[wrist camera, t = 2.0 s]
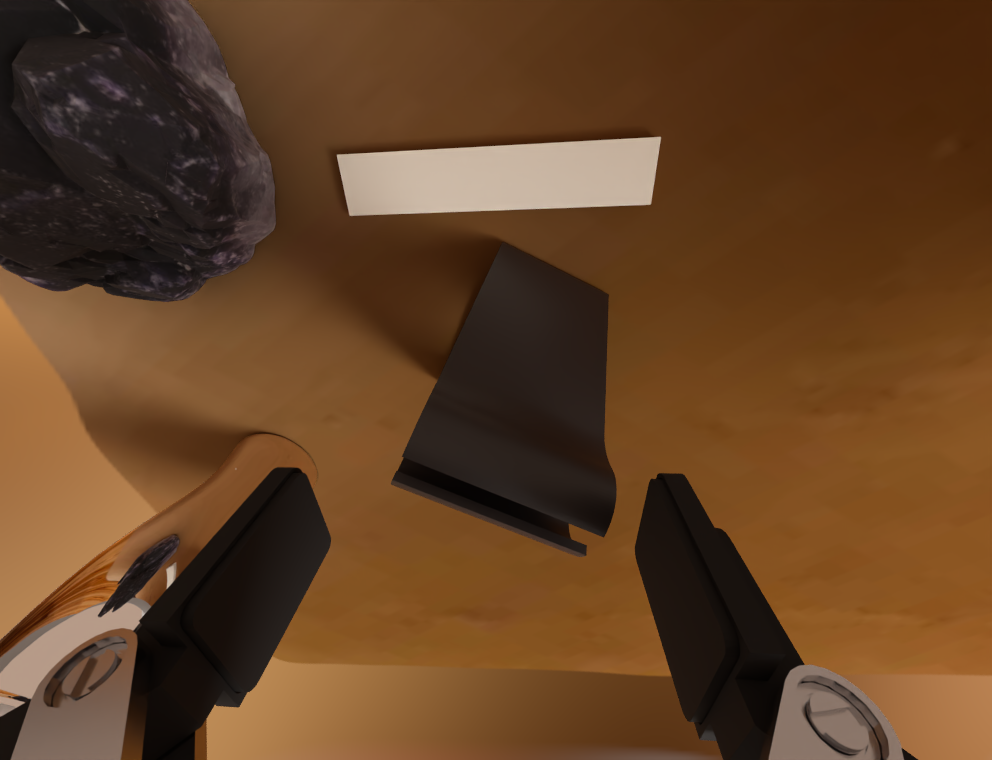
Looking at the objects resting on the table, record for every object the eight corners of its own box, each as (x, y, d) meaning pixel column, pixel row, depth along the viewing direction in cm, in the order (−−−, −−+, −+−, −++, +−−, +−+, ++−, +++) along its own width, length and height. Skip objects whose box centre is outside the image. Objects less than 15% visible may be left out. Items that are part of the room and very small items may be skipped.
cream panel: (656, 138, 15) (661, 136, 15) (647, 204, 16) (650, 204, 16) (342, 155, 17) (336, 154, 16) (355, 215, 18) (349, 215, 17)
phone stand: (503, 239, 18) (459, 320, 7) (608, 293, 18) (705, 435, 8) (441, 380, 22) (356, 560, 11) (528, 419, 23) (523, 620, 12)
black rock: (49, 216, 20) (-270, 277, 12) (-58, -158, 13) (-1084, -663, 5) (291, 311, 23) (163, 413, 15) (320, 46, 15) (93, -47, 7)
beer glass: (341, 471, 26) (152, 752, 13) (294, 511, 29) (98, 777, 16) (259, 410, 24) (-61, 673, 11) (216, 459, 27) (-82, 717, 14)
